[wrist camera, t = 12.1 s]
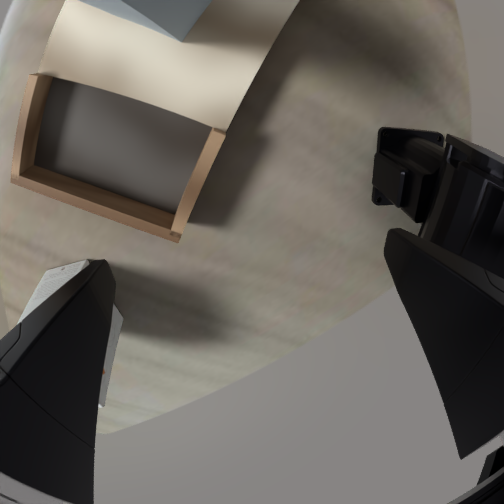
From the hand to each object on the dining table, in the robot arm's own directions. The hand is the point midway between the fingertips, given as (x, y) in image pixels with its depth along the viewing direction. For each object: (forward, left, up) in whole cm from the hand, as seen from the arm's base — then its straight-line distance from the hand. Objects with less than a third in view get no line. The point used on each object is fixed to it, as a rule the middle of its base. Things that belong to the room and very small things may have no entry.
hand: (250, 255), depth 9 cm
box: (+3, -11, -13) cm, 17 cm away
